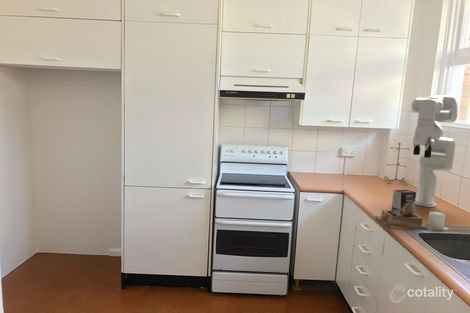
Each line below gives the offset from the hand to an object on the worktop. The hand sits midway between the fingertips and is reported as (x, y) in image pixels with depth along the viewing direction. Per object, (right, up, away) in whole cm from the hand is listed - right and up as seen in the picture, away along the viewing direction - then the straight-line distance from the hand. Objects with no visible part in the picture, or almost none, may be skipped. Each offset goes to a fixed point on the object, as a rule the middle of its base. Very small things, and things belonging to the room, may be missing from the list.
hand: (421, 156), depth 181 cm
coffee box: (-12, -34, -2) cm, 36 cm away
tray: (-12, -35, -2) cm, 37 cm away
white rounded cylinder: (+4, -36, -5) cm, 36 cm away
